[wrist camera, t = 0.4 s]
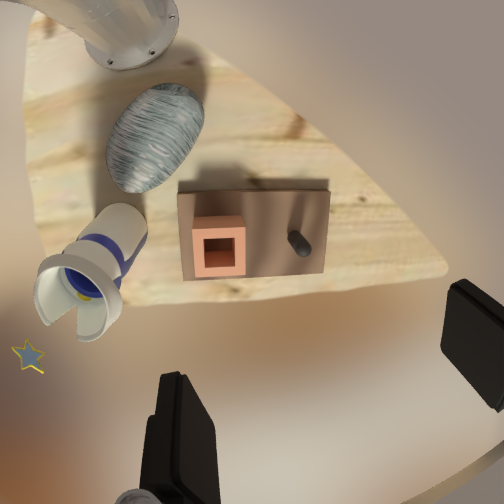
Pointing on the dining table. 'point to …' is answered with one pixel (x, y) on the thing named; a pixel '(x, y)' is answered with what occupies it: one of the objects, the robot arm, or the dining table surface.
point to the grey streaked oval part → (153, 137)
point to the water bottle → (88, 276)
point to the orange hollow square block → (219, 260)
